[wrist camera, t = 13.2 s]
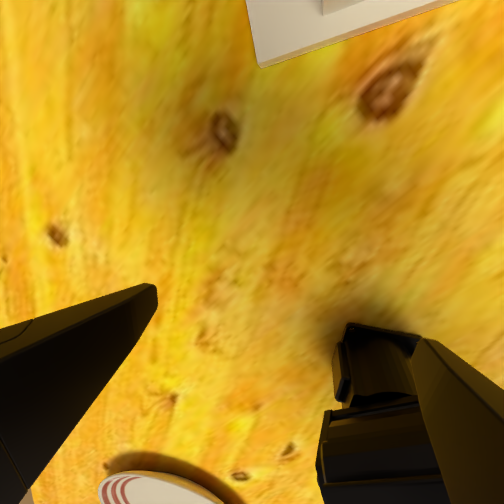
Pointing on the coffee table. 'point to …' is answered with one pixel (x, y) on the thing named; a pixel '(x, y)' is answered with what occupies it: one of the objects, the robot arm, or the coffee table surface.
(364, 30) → the socket board
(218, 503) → the dinner plate
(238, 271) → the coffee table surface
